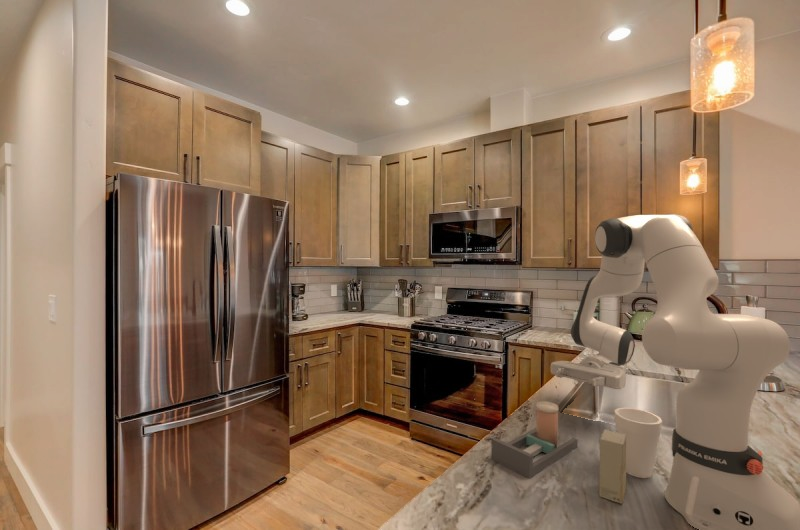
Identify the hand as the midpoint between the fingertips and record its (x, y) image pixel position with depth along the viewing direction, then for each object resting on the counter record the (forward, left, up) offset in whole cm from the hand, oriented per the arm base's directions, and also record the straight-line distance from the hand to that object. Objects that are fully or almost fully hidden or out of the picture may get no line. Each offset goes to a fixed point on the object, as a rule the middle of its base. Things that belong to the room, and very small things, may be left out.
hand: (574, 378), depth 106 cm
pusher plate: (0, +21, -15) cm, 26 cm away
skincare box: (-19, +22, -16) cm, 33 cm away
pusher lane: (0, +19, -15) cm, 24 cm away
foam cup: (-19, +8, -16) cm, 26 cm away
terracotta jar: (0, +14, -16) cm, 21 cm away
